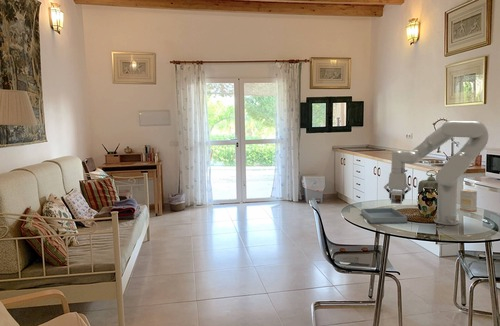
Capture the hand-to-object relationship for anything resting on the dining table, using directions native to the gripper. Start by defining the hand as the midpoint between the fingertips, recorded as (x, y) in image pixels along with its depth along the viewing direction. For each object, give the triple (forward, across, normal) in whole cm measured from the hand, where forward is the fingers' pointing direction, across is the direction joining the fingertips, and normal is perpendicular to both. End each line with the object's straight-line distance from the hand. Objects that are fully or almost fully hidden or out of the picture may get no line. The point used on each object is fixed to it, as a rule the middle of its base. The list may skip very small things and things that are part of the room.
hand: (396, 199), depth 216 cm
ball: (-1, -1, -3) cm, 3 cm away
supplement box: (+10, -42, -31) cm, 53 cm away
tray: (+11, +7, +5) cm, 14 cm away
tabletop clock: (+11, -21, -38) cm, 45 cm away
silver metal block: (+1, 0, 0) cm, 1 cm away
